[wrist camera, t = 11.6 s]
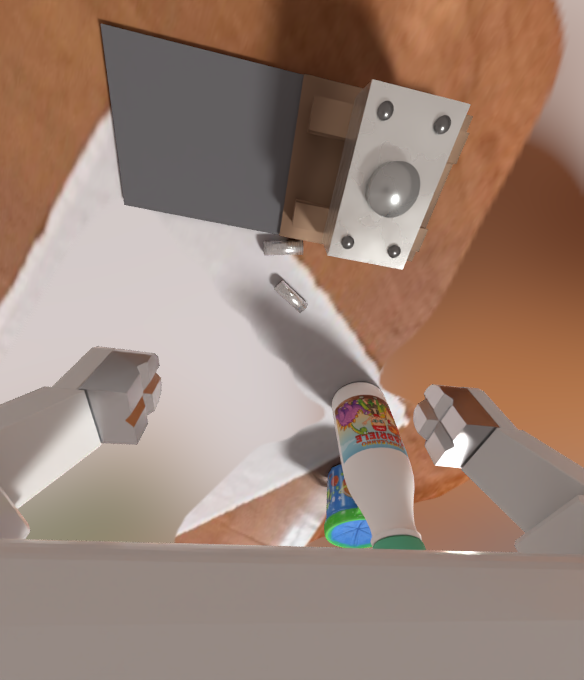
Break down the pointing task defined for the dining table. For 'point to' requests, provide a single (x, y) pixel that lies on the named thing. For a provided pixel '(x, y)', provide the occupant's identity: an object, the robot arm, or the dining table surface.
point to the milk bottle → (376, 466)
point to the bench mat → (201, 130)
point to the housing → (389, 172)
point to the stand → (331, 159)
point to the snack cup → (344, 515)
